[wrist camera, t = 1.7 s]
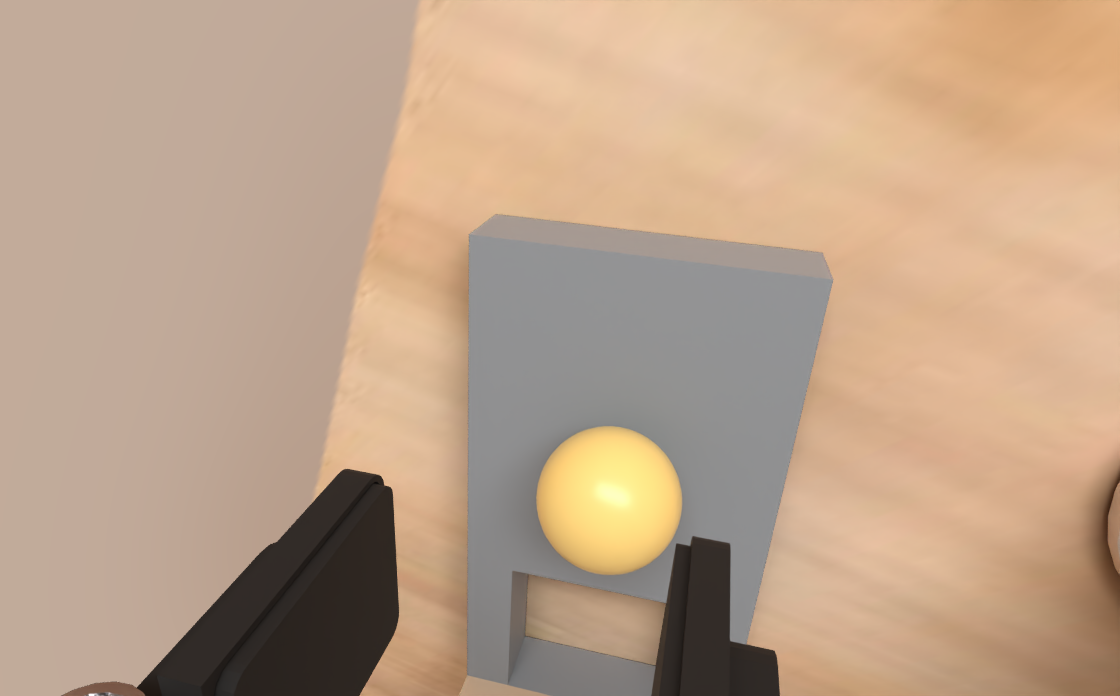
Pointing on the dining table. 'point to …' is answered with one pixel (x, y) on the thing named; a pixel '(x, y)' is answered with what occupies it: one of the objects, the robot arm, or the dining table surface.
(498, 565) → the board
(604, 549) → the ball
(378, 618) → the robot arm
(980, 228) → the dining table surface
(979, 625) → the dining table surface
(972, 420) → the dining table surface
